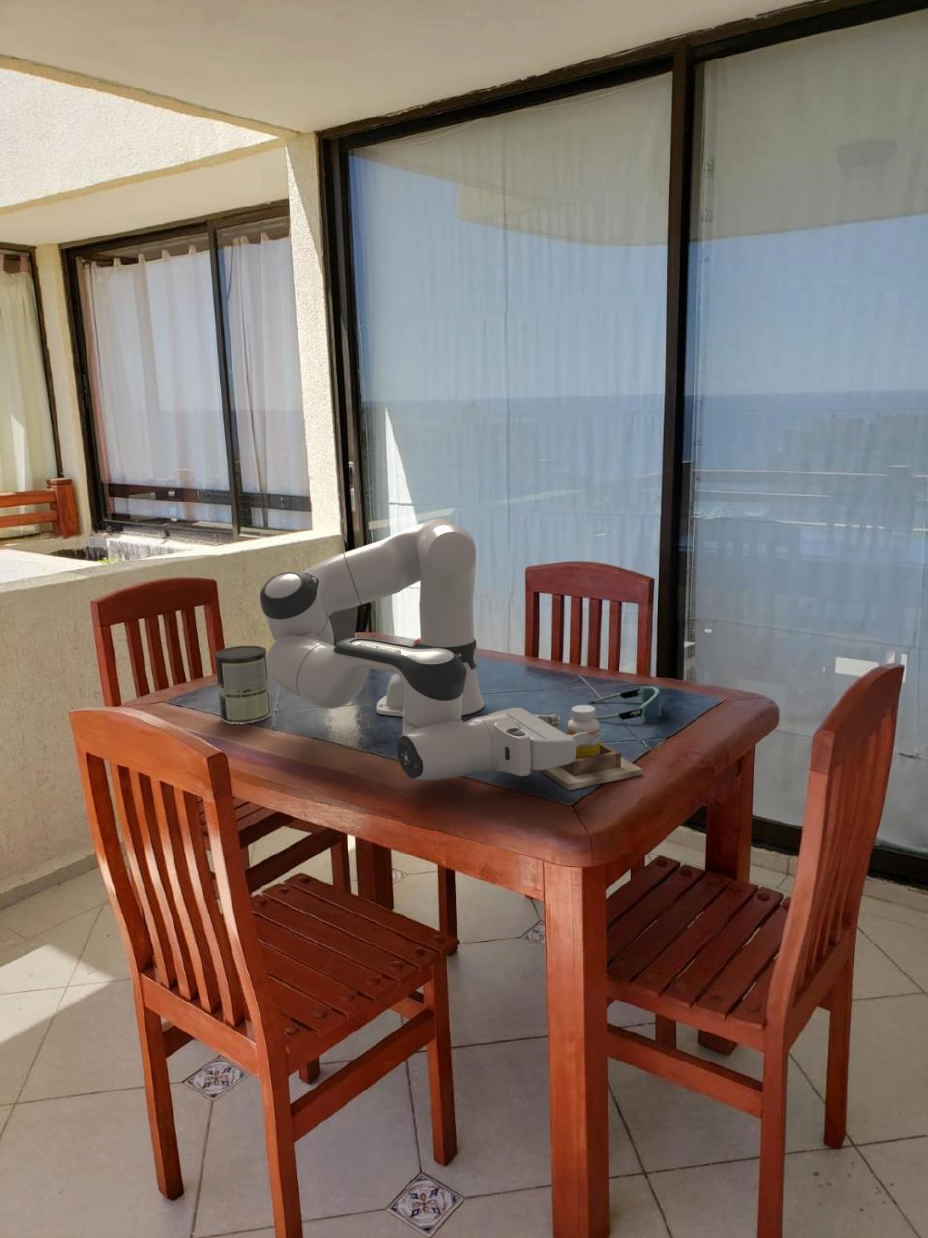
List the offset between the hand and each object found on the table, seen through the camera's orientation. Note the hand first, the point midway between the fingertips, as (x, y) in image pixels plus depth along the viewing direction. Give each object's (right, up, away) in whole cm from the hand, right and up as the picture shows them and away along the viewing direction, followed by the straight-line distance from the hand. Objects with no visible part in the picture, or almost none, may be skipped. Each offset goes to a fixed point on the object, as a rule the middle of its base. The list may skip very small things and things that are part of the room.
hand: (572, 727), depth 156 cm
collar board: (+2, -7, +3) cm, 8 cm away
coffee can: (-63, -2, +38) cm, 74 cm away
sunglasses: (+14, -1, +32) cm, 35 cm away
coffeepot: (-48, +7, +78) cm, 92 cm away
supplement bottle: (+2, -7, +3) cm, 7 cm away
